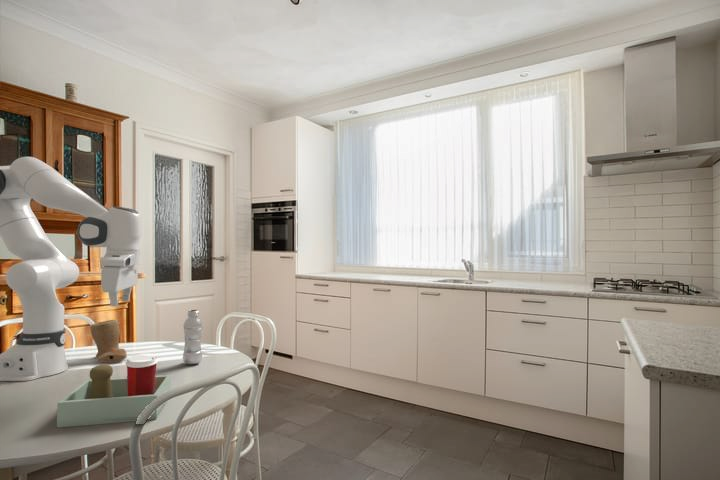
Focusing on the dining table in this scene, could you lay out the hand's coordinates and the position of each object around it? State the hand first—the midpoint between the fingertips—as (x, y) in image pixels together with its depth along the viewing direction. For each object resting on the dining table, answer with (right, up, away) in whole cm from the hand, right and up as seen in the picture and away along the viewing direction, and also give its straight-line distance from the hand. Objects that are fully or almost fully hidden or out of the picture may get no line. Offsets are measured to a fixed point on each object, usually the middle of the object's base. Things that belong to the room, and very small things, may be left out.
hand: (119, 303), depth 119 cm
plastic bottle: (+11, -27, +25) cm, 39 cm away
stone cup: (-23, -27, +29) cm, 45 cm away
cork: (+5, -25, -16) cm, 31 cm away
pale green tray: (+10, -26, -16) cm, 32 cm away
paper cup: (+14, -27, -14) cm, 33 cm away
